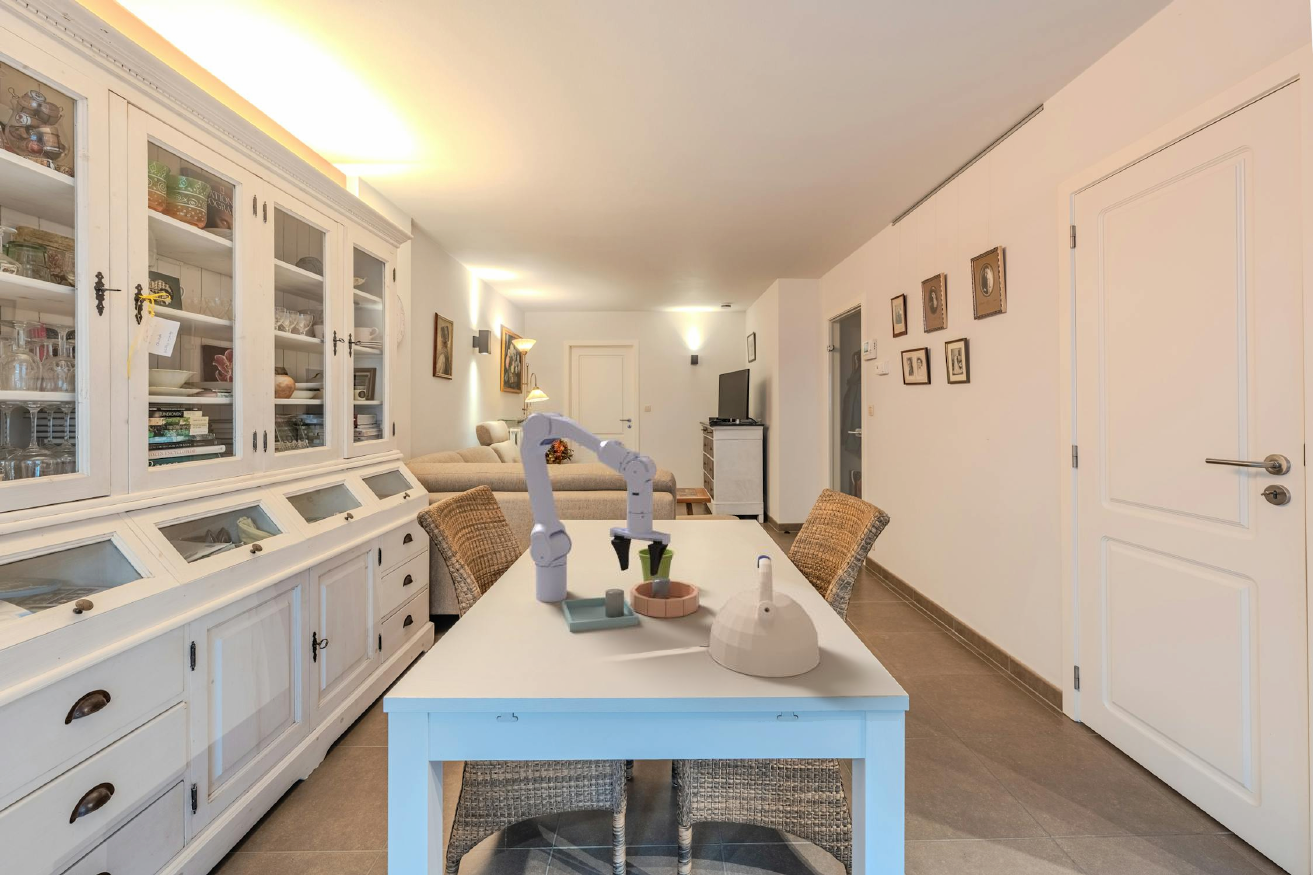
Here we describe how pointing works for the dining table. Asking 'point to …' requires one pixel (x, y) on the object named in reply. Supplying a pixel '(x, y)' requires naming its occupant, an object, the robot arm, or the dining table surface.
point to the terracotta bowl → (665, 600)
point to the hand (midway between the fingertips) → (639, 572)
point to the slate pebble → (614, 603)
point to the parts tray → (595, 614)
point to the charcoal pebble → (661, 588)
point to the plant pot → (663, 567)
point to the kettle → (764, 632)
